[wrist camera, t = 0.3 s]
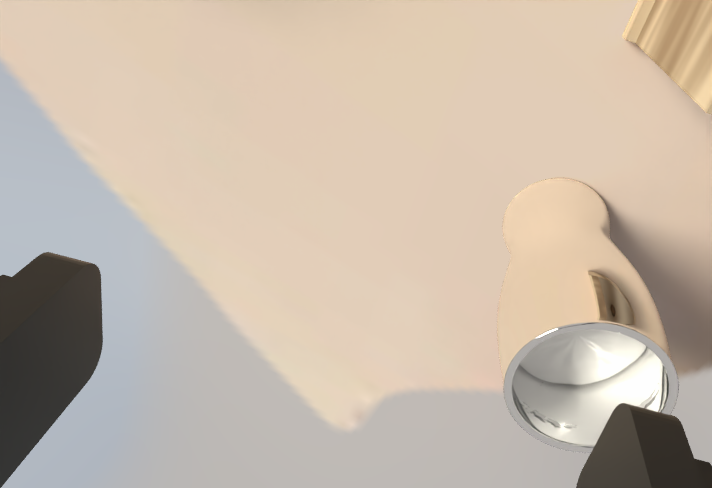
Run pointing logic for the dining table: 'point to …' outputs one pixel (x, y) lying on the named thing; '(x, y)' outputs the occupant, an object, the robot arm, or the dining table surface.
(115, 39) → the dining table surface
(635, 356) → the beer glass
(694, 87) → the peg jig
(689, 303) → the dining table surface
